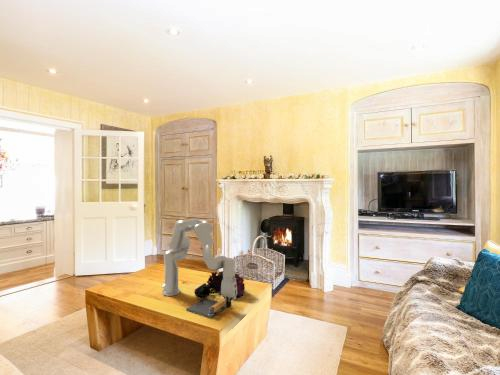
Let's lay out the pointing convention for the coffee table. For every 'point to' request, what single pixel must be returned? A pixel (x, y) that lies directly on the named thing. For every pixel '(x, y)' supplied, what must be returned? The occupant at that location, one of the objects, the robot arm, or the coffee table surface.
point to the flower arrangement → (217, 280)
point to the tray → (204, 308)
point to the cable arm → (217, 306)
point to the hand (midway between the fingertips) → (228, 306)
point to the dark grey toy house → (202, 291)
